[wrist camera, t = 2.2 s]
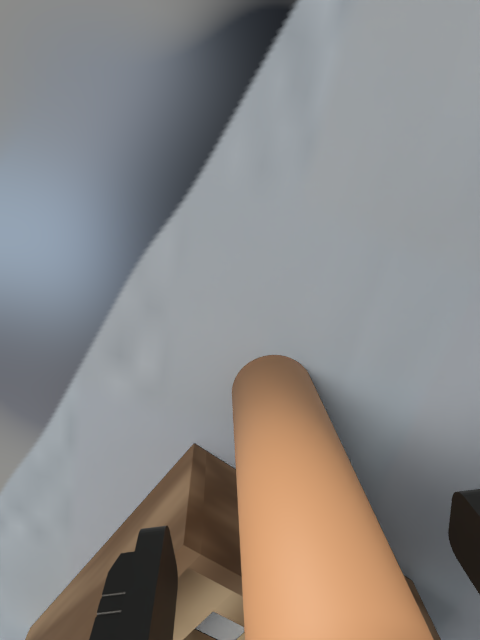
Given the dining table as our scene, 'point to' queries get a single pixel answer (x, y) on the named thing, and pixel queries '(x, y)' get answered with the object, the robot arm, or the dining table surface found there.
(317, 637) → the peg
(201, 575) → the box
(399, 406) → the dining table surface
